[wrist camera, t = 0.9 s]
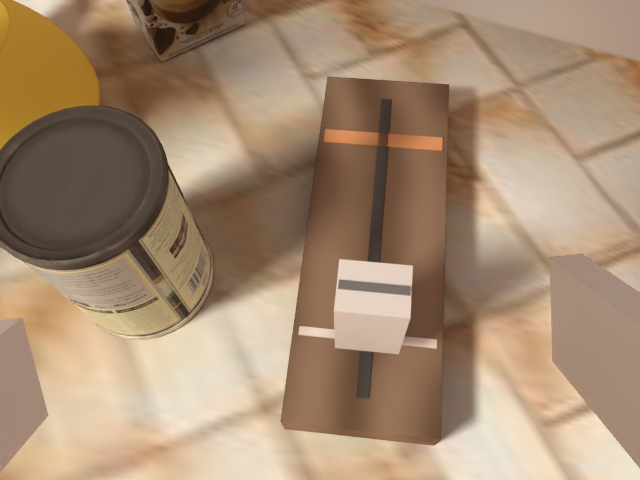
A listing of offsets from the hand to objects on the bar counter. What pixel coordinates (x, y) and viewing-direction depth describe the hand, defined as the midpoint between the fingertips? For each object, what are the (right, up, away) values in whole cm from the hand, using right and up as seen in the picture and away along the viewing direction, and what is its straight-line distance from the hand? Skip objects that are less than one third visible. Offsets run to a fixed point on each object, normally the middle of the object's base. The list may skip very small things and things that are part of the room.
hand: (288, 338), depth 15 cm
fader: (+4, -4, +25) cm, 25 cm away
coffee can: (-12, 0, +31) cm, 34 cm away
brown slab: (+5, +2, +31) cm, 32 cm away
